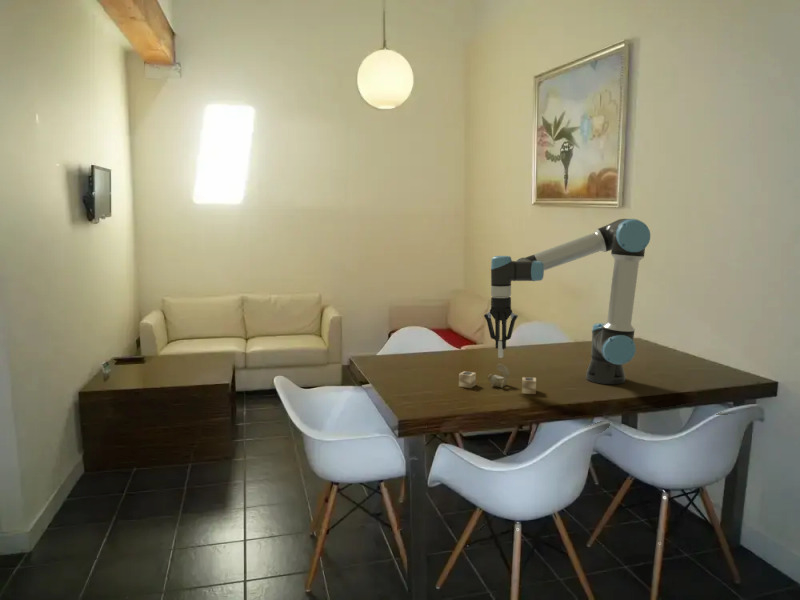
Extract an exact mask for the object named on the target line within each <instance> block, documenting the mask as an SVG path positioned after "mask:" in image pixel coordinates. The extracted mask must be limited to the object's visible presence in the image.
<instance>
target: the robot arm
mask: <svg viewBox="0 0 800 600" xmlns="http://www.w3.org/2000/svg"><path fill="white" fill-rule="evenodd" d="M650 231H651V230H650V229H649V227H648V226H647V224H646V223H645V222H643V221H642V220H639V219H636V218H620V219H617V220H614V221H613V222H610V223H608V224H606V225H603V226H601V227H599V228H596V229H595V231H594V232H593V233H589V234H588V235H587V234H586V235H585V236H584V235H583V236H582V237H579V238H576V239H573V240H570V241H568V242H565V243H563V244H562V243H561V244H559V245H556V246H554V247H551V248H548V249H545V250H542V251H540V252H537V253H534V254H532V255H529V256H525V257H520V258H518V259H517V260H516V261H515V260H512V257H511V256H510V255H496V256H493V257H492V258H491V264H490V284H491V285H490V294H491V295H490V296H491V298H490V309H489V311H488V313H485V314H484V315H483V317H484V318H485V320H486V323H487V326H488V327H487V328H488V332H489V336H490V339H491V340H494V342H495V349H496V350H497V357H498V358H500V359H502V358H504V350H506V348H507V341H508V340H511V338H512V336H513V335H512V334H513V331H514V326H515V323H516V320H517V319H518V317H519V315H518V314H515V313H514V312H513V310H512V297H511V295H512V282H538V281H542V280H543V279H544V276H545V271H547V270H550V269H553V268H556V267H558V266H561V265H564V264H567V263H570V262H573V261H576V260H578V259H581V258H584V257H587V256H590V255H593V254H595V253H599V252H603V253H607V252H609V251H610V252H611V253H610V255H611V256H612V258H614V263H613V270H612V271H613V272H612V278H611V285H610V293H609V303H608V311H607V312H608V313H607V318H606V319H607V320H606V322H605V323H604V322H603V323H602V322H601V323H600V322H599V323H598V322H597V323H594V324H593V325H592V330H591V354H590V355H591V356H590V357H591V358H590V361H589V365H588V367H587V369H586V373H585V379H586V380H587V381H589V382H592V383H596V384H601V385H603V384H604V385H619V384H624V383H625V382H626V373H625V370H624V366H623V365H625V364H627V363H629V362H630V361H632V359H633V358H634V356H635V355H636V352H637V351H636V349H637V348H636V343H635V341H634V339H635V328H634V327H633V326H632V319H633V313H634V311H633V310H634V303H635V296H636V295H635V294H636V290H637V289H636V287H637V280H638V273H639V265H640V264H639V263H640V261H641V260H642V259H644V258H645V251H646V248H647V246H648V245H649V243H650V242H651V241H650V240H651V232H650ZM492 318H493V319H494V324H495V331H494V325H493V321H492ZM509 318H510V319H511V320H510V322H509V327H508V332H507V322H508V321H507V320H509ZM500 323H501V324H500ZM500 327H501V328H500ZM500 329H501V331H500ZM500 332H501V333H500ZM500 335H501V336H500Z"/></svg>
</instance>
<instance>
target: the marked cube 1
mask: <svg viewBox="0 0 800 600" xmlns="http://www.w3.org/2000/svg"><path fill="white" fill-rule="evenodd" d="M476 381H477V373H476V372H472V371H466V370H465V371H462V372H459V374H458V387H461V388H467V389H472V388H473V387H475V386H476V383H477V382H476Z"/></svg>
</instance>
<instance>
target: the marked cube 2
mask: <svg viewBox="0 0 800 600" xmlns="http://www.w3.org/2000/svg"><path fill="white" fill-rule="evenodd" d="M521 380H522V381H521V383H522V384H521V390H522V391H521V394H527V395H536V393H537V377H525V376H522V379H521Z"/></svg>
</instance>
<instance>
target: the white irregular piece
mask: <svg viewBox="0 0 800 600" xmlns="http://www.w3.org/2000/svg"><path fill="white" fill-rule="evenodd" d="M496 369H497V371H498V372H500V373H501V375H502V376H501V375H499V374H494V375H493V374H492V373H489V375H488V376H487V381H488V382H489V383H490V384H491V387H496V388H497V387H498V388H501V389H503V388H504V387H505V386H507V385H508V383H507V382H508V380H509V379H508V378H509V377H510V370H509V369H508V368H507V367H506V366H505V365H504V364H501V363H497V365H496Z"/></svg>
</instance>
